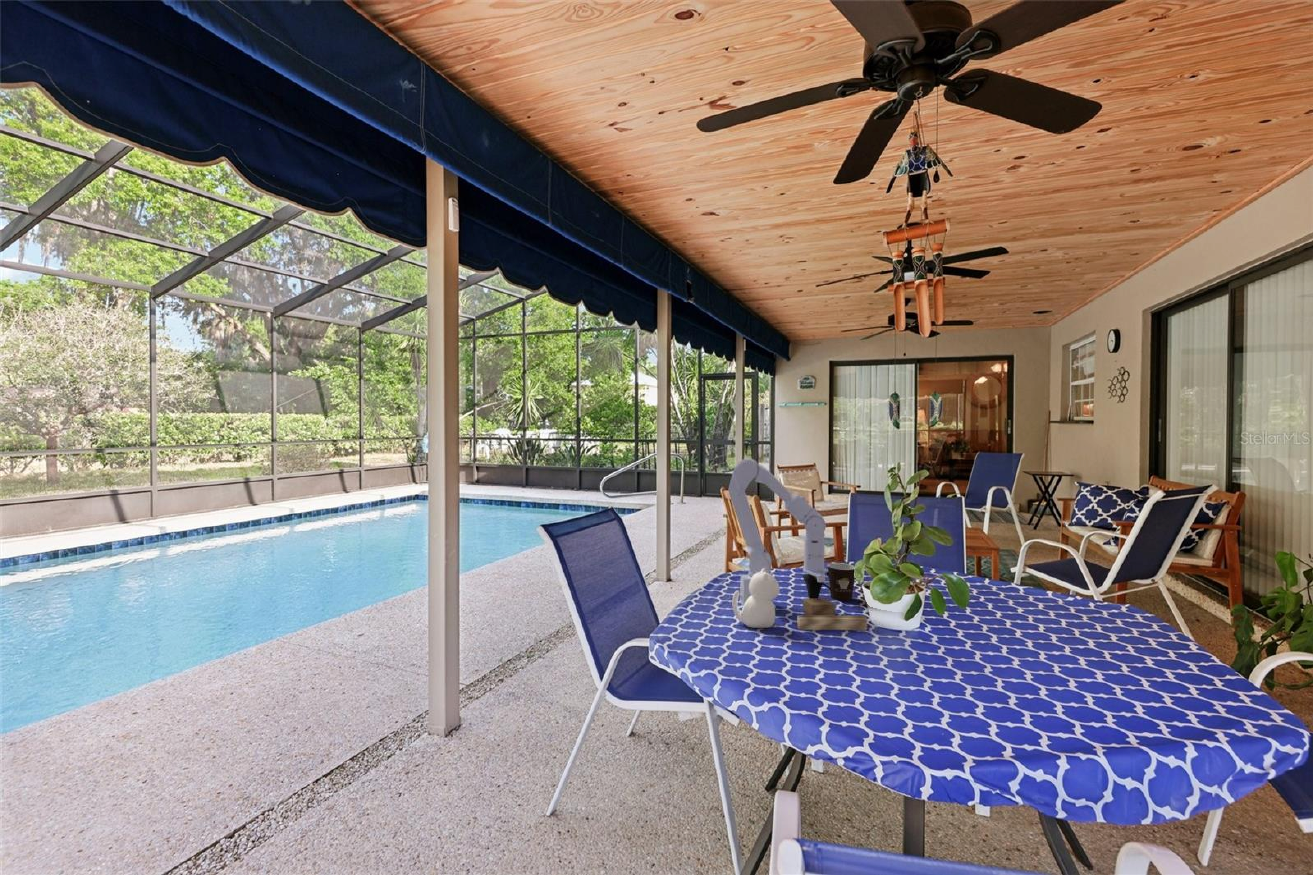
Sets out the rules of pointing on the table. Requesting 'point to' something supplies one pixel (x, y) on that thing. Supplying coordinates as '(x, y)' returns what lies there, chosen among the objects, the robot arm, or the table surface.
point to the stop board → (831, 622)
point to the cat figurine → (758, 601)
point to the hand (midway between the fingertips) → (813, 600)
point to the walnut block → (818, 607)
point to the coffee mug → (840, 581)
